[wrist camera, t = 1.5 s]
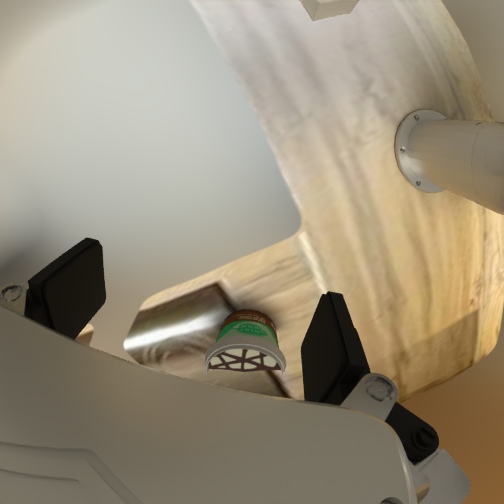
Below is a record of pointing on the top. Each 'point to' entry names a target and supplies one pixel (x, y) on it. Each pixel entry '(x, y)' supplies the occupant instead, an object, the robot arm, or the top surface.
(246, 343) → the food container
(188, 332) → the top surface
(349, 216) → the top surface
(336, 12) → the three dot block
